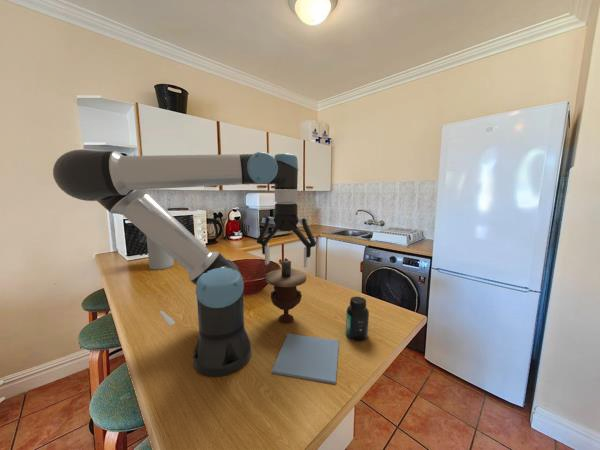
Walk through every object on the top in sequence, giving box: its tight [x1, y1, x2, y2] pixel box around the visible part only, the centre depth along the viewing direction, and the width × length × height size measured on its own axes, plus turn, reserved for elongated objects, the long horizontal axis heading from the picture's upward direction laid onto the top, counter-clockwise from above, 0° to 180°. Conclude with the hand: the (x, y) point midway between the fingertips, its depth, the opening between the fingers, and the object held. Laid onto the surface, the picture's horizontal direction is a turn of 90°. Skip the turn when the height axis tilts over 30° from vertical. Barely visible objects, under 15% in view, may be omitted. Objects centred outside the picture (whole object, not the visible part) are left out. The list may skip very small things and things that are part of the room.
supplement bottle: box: [345, 296, 370, 342], centre depth 75 cm, size 7×7×12 cm
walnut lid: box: [265, 259, 307, 287], centre depth 82 cm, size 14×14×6 cm
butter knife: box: [159, 310, 176, 326], centre depth 90 cm, size 1×27×3 cm
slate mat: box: [271, 333, 340, 385], centre depth 66 cm, size 16×16×1 cm
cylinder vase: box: [145, 235, 175, 271], centre depth 138 cm, size 12×12×25 cm
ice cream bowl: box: [270, 286, 303, 324], centre depth 84 cm, size 11×11×15 cm
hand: (286, 264), depth 82 cm, fingers open, 13 cm apart
